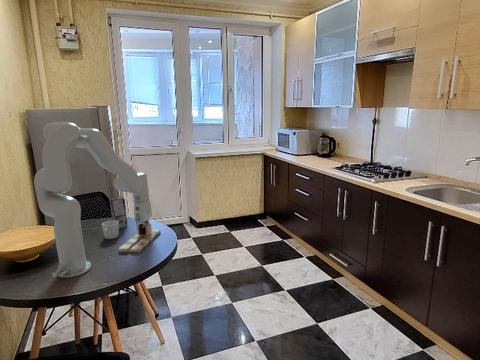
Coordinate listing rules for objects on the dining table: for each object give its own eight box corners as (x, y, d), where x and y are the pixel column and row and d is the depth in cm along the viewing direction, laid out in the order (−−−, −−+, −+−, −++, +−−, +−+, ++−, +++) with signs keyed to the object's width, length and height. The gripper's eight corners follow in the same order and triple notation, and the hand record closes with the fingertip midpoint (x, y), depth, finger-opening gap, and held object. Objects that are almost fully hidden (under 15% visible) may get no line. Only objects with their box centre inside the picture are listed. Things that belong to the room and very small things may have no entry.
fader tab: (149, 237, 156) (147, 226, 155) (137, 237, 157) (136, 225, 156) (152, 234, 160) (151, 223, 158) (141, 234, 160) (139, 223, 159)
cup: (114, 242, 155) (112, 227, 153) (98, 243, 155) (96, 227, 153) (122, 234, 165) (120, 219, 163) (107, 234, 165) (105, 220, 163)
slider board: (139, 253, 142) (138, 249, 141) (118, 252, 143) (118, 248, 143) (160, 233, 165) (160, 229, 164) (142, 232, 166) (142, 228, 166)
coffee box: (128, 226, 176) (125, 198, 172) (116, 229, 173) (112, 201, 169) (124, 221, 183) (120, 195, 180) (112, 224, 180) (109, 197, 176)
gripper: (140, 203, 145) (144, 239, 149) (155, 193, 161) (158, 227, 165) (125, 202, 146) (129, 239, 151) (141, 193, 162) (145, 226, 166)
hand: (144, 232), depth 158 cm, fingers closed on fader tab, 3 cm apart
